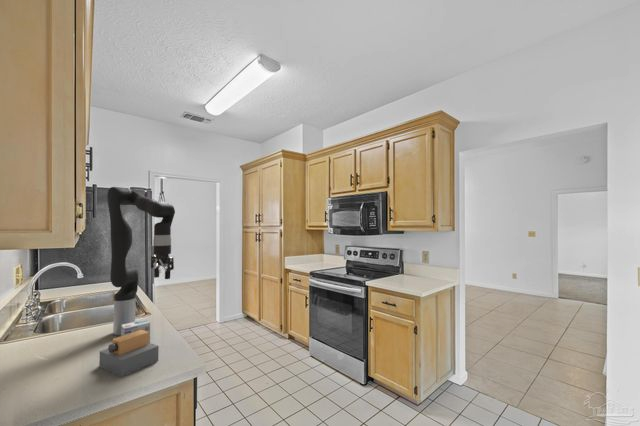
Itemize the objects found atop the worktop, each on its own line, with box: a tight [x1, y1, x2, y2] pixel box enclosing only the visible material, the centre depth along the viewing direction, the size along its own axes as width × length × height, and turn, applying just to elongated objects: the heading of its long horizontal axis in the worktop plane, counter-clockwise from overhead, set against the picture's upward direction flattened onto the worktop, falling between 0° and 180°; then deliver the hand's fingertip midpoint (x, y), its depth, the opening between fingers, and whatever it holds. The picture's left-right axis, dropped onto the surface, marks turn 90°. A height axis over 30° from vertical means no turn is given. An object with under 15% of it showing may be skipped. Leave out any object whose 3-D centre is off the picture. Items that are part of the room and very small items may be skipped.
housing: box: [107, 330, 149, 355], centre depth 116 cm, size 13×6×5 cm, turn 150°
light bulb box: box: [120, 319, 151, 343], centre depth 131 cm, size 11×7×11 cm, turn 135°
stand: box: [98, 342, 160, 378], centre depth 116 cm, size 16×14×6 cm
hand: (161, 278), depth 138 cm, fingers open, 8 cm apart
